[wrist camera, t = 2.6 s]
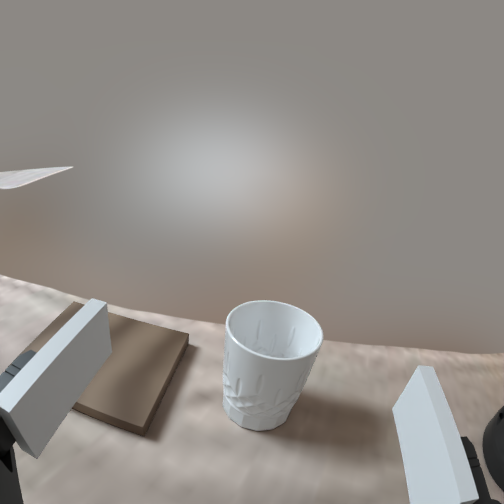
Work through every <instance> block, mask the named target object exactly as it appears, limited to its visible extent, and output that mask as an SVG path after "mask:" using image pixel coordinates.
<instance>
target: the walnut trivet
mask: <svg viewBox="0 0 504 504" xmlns="http://www.w3.org/2000/svg"><path fill="white" fill-rule="evenodd" d="M83 306H84V304H80V303H77V302H73V303H72V304H71V305H70V306H69V307H68V308H67V309H66V310H64V311H63V312H62V313H61V314H60V315H59V316H58V317H57V318H56V319H55V320H54V321H53V322H52V323H51V324H50V325H49V326H48V327H47V328H46V329H45V330H44V331H43V332H42V333H41V334H40V335H39V336H38V337H37V338H36V339H35V340H34V341H33V342H32V343H31V344H30V345H29V346H28V347H27V348H26V349H25V350H24V351H23V352H22V353H21V354H23V353H25V352H27V351H29V350H33V351H35V352H38V351H39V350H40V349H41V348H42V347H43V346H44V345H45V344H46V343H47V342H48V341H49V340H50V339H51V338H52V337H53V336H54V335H55V334H56V333H57V332H58V331H59V330H60V329H61V328H62V327H63V326H64V325H65V324H66V323H67V322H68V321H69V320H70V319H71V318H72V317H73V316H74V315H75V314H76V313H77V312H78V311H79V310H80V309H81V308H82V307H83ZM108 321H109V330H110V339H111V347H112V353H111V354H110V356H109V357H108V358H107V360H106V361H105V362H104V364H103V365H102V366H101V368H100V369H99V371H98V372H97V373H96V375H95V376H94V377H93V379H92V380H91V382H90V383H89V384H88V386H87V387H86V389H85V390H84V391H83V393H82V394H81V396H80V397H79V398H78V400H77V401H76V403H75V404H74V406H73V407H72V408H73V409H75V410H78V411H80V412H82V413H84V414H87V415H89V416H91V417H94V418H96V419H99V420H101V421H104V422H106V423H109V424H111V425H114V426H117V427H119V428H122V429H125V430H127V431H130V432H133V433H136V434H139V435H142V436H145V434H146V432H147V430H148V428H149V425H150V423H151V421H152V419H153V417H154V415H155V413H156V411H157V408H158V406H159V404H160V402H161V400H162V398H163V396H164V394H165V391H166V389H167V387H168V385H169V383H170V381H171V379H172V377H173V375H174V373H175V370H176V368H177V366H178V364H179V362H180V360H181V358H182V356H183V354H184V352H185V350H186V348H187V346H188V342H189V334H188V333H184V332H180V331H175V330H171V329H168V328H164V327H160V326H156V325H152V324H148V323H145V322H141V321H137V320H134V319H130V318H127V317H123V316H120V315H116V314H113V313H110V312H108ZM21 354H20V355H21ZM14 361H15V360H14ZM14 361H13V362H14ZM13 362H12V363H13ZM12 363H11V364H10V365H9V366H11V365H12ZM9 366H8V367H9Z"/></svg>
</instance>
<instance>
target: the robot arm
mask: <svg viewBox="0 0 504 504" xmlns="http://www.w3.org/2000/svg"><path fill="white" fill-rule="evenodd" d="M111 353H112V347H111V339H110V330H109V321H108V310H107V303H106V302H103V301H100V300H96V299H93V298H92V299H90V300H89V301H88V302H87V303H86V304H85V305H84V306H83V307H82V308H81V309H80V310H79V311H78V312H77V313H76V314H75V315H74V316H73V317H72V318H71V319H70V320H69V321H68V322H67V323H66V324H65V325H64V326H63V327H62V328H61V329H60V330H59V331H58V332H57V333H56V334H55V335H54V336H53V337H52V338H51V339H50V340H49V341H48V342H47V343H46V344H45V345H44V346H43V347H42V348H41V349H40V350H39V351H38V352H35V351H33V350H29V351H27V352H25V353H23V354H21V355H19V356H18V357H17V358H16V359H15V361H14V362H13V363H12V365H11V366H9V367H8V368H7V369H6V370H5V372H3V373H2V374H1V375H0V504H24V503H23V499H22V494H21V489H20V484H19V479H18V473H17V467H16V460H15V453H14V449H13V446H12V445H13V444H14V443H15V441H16V442H17V443H18V445H19V446H20V448H21V449H22V450H23V451H25V452H26V453H28V454H30V455H31V456H33V457H35V458H36V459H38V457H39V456H40V454H41V453H42V451H43V450H44V448H45V446H46V445H47V443H48V442H49V441H50V439H51V438H52V436H53V435H54V433H55V432H56V430H57V429H58V427H59V426H60V424H61V423H62V421H63V420H64V418H65V417H66V416H67V414H68V413H69V411H70V410H71V408H72V407H73V406H74V404H75V403H76V401H77V400H78V398H79V397H80V396H81V394H82V393H83V391H84V390H85V389H86V387H87V386H88V384H89V383H90V382H91V380H92V379H93V377H94V376H95V375H96V373H97V372H98V371H99V369H100V368H101V366H102V365H103V364H104V362H105V361H106V360H107V358H108V357H109V356H110V354H111ZM392 410H393V414H394V419H395V423H396V428H397V433H398V437H399V442H400V447H401V452H402V458H403V463H404V468H405V474H406V480H407V486H408V492H409V499H410V504H501V503H500V502H499V501H497V500H494V499H491V498H490V495H489V492H488V488H487V485H486V482H485V478H484V475H483V472H482V469H481V467H480V463H479V460H478V459H477V454H476V451H475V448H474V446H473V444H472V443H471V442H470V441H469V439H468V438H467V437H460V435H459V432H458V429H457V427H456V424H455V421H454V418H453V416H452V413H451V410H450V408H449V405H448V403H447V400H446V397H445V395H444V392H443V390H442V388H441V385H440V383H439V380H438V378H437V375H436V373H435V371H434V368H433V367H429V366H419V365H418V367H417V369H416V370H415V372H414V374H413V376H412V377H411V379H410V381H409V382H408V384H407V386H406V387H405V389H404V391H403V392H402V394H401V396H400V397H399V399H398V400H397V402H396V404H395V405H394V407H393V408H392ZM483 453H484V458H485V461H486V464H487V467H488V469H489V472H490V474H491V475H492V477H493V479H494V480H495V482H496V483H497V484H498V486H499V487H500V488H501V489H502V490H503V491H504V406H503V407H502V408H501V409H500V410H499V411H498V412H497V413H496V415H495V416H494V417H493V418H492V419H491V421H490V422H489V423H488V425H487V427H486V429H485V432H484V436H483Z"/></svg>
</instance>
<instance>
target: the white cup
mask: <svg viewBox="0 0 504 504" xmlns="http://www.w3.org/2000/svg"><path fill="white" fill-rule="evenodd" d="M322 342H323V331H322V328H321V326H320V325H319V323H318V322H317V321H316V320H315V319H314V318H313V317H312V316H311V315H309V314H308V313H307V312H305V311H303V310H301V309H299V308H297V307H295V306H292V305H289V304H286V303H282V302H277V301H268V300H267V301H266V300H260V301H251V302H247V303H244V304H241V305H239V306H237V307H236V308H234V309H233V310H232V311H231V312H230V313H229V315H228V317H227V320H226V331H225V346H224V362H223V386H224V396H223V408H224V409H225V411H226V413H227V415H228V417H229V418H230V419H231V420H233V421H234V422H235V423H237V424H238V425H239V426H241V427H244V428H247V429H251V430H255V431H262V430H270V429H274V428H276V427H277V426H279V425H281V424H283V423H284V422H285V421H286V419H287V418H288V416H289V414H290V412H291V410H292V408H293V405H294V404H295V403H296V402H297V400H298V398H299V395H300V393H301V392H302V390H303V387H304V385H305V383H306V381H307V378H308V376H309V374H310V371H311V369H312V366H313V364H314V362H315V359H316V357H317V354H318V352H319V350H320V347H321V345H322Z"/></svg>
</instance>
